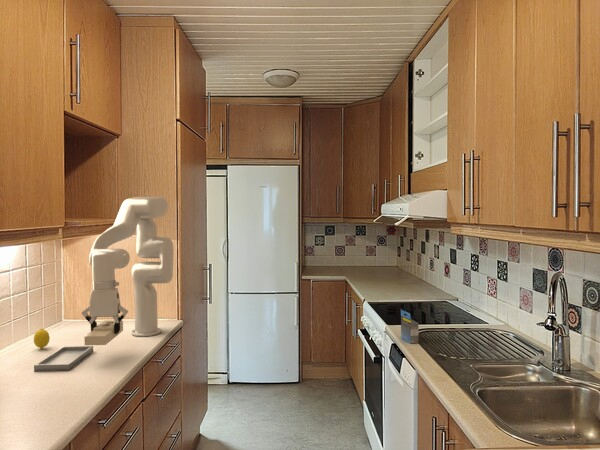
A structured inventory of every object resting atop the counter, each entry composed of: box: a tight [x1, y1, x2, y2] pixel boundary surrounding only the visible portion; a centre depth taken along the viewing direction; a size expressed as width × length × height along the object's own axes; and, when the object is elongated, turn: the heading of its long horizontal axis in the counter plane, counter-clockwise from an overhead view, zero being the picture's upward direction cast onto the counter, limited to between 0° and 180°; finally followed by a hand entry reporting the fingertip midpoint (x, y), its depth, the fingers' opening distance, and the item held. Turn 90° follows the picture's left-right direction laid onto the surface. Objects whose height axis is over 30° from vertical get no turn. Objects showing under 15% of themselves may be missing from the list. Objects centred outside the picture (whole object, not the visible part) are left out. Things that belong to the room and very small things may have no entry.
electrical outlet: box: [84, 319, 124, 346], centre depth 181 cm, size 7×4×18 cm
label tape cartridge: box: [400, 309, 419, 345], centre depth 205 cm, size 9×4×12 cm, turn 15°
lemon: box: [33, 328, 50, 350], centre depth 196 cm, size 6×6×8 cm
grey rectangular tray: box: [33, 345, 94, 372], centre depth 181 cm, size 23×12×2 cm, turn 3°
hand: (105, 333), depth 182 cm, fingers closed on electrical outlet, 7 cm apart
